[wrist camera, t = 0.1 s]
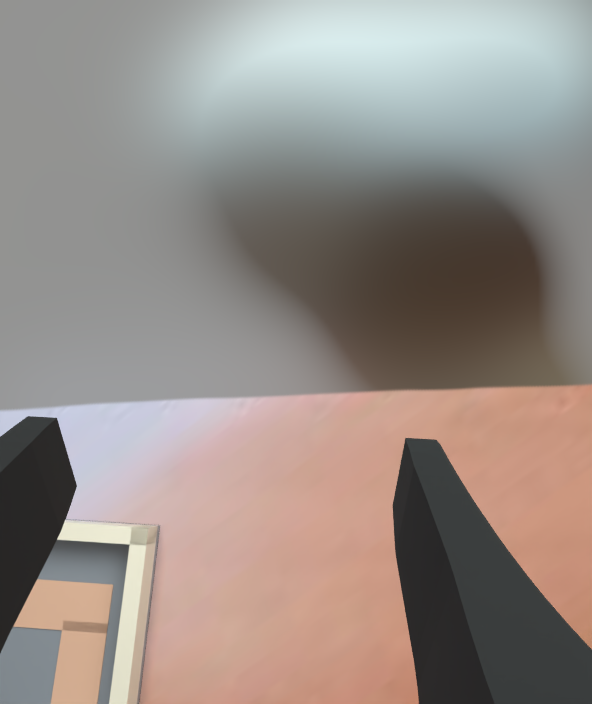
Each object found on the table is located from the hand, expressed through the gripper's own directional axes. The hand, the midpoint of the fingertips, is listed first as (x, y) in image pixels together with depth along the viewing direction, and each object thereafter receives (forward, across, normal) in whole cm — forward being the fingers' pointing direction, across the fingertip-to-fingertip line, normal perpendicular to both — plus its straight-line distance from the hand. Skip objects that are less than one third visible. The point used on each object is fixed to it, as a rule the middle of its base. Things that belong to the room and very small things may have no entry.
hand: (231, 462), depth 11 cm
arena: (+13, +16, +31) cm, 38 cm away
